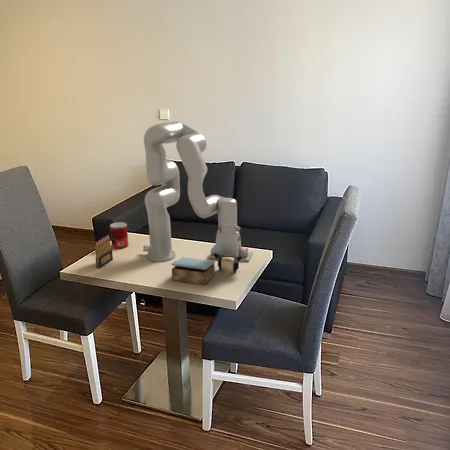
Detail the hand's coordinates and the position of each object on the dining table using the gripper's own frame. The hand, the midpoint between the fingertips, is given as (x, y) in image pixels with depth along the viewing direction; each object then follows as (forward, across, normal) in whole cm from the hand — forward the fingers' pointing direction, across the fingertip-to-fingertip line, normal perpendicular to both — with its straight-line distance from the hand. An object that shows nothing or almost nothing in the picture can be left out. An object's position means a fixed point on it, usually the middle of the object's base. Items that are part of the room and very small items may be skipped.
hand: (228, 269), depth 199 cm
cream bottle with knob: (+1, 0, 0) cm, 1 cm away
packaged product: (+1, +4, -16) cm, 16 cm away
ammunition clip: (+1, +54, +9) cm, 55 cm away
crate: (+1, +11, +11) cm, 16 cm away
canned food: (+1, +59, -12) cm, 60 cm away
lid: (-5, +11, +11) cm, 16 cm away
